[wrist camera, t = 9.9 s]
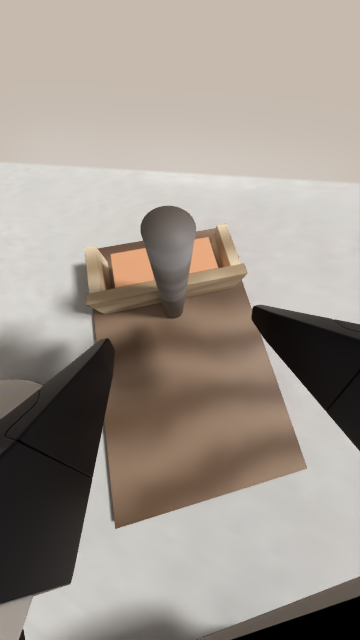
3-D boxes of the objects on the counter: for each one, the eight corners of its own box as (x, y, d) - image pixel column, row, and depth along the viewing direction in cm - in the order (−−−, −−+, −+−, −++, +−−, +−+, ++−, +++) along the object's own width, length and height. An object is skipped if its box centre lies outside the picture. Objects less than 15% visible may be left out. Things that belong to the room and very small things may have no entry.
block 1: (158, 295, 19) (154, 280, 15) (128, 301, 18) (115, 287, 14) (153, 268, 19) (147, 247, 16) (123, 273, 19) (110, 254, 15)
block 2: (209, 284, 19) (218, 267, 15) (180, 290, 19) (182, 274, 15) (202, 259, 20) (208, 236, 16) (174, 264, 20) (174, 243, 16)
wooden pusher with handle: (242, 303, 18) (362, 217, 7) (103, 333, 17) (-61, 294, 5) (221, 241, 20) (285, 89, 8) (95, 264, 19) (-37, 121, 7)
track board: (302, 463, 15) (307, 468, 15) (117, 521, 14) (115, 528, 13) (221, 230, 22) (223, 227, 21) (89, 253, 20) (87, 250, 20)
